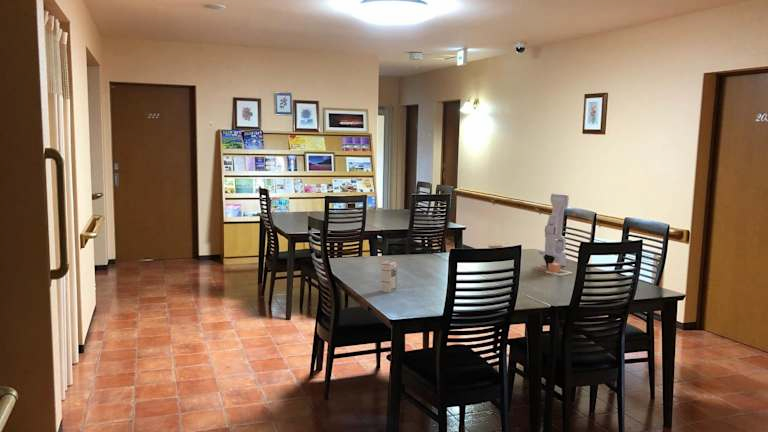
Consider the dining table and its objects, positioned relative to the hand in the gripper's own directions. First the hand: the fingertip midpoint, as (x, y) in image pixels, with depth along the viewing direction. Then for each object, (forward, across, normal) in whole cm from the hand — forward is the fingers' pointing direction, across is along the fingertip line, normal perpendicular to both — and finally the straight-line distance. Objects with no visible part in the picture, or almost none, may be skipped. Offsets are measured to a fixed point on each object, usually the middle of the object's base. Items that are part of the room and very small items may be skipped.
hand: (548, 268), depth 368 cm
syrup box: (+2, -6, -111) cm, 111 cm away
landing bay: (+2, +7, 0) cm, 7 cm away
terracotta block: (+2, +4, 0) cm, 4 cm away
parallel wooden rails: (+2, -3, 0) cm, 3 cm away
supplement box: (+2, -25, -19) cm, 31 cm away
